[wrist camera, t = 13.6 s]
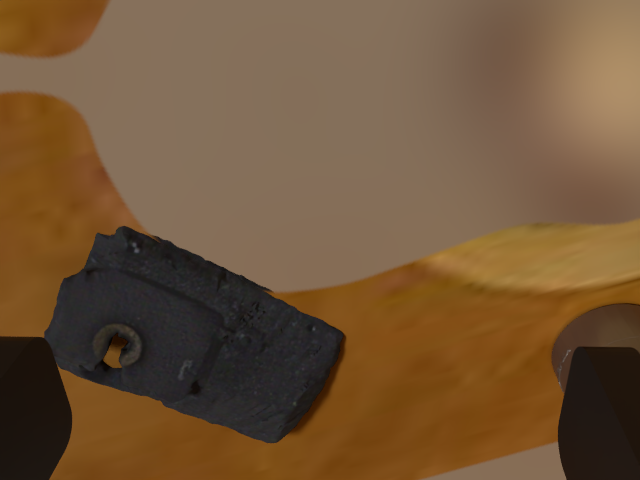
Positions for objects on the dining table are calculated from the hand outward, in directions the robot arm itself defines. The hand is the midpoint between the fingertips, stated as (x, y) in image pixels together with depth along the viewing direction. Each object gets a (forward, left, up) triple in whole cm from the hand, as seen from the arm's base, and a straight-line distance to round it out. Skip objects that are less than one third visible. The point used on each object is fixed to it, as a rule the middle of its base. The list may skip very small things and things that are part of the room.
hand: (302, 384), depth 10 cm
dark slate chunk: (+13, +24, -33) cm, 43 cm away
